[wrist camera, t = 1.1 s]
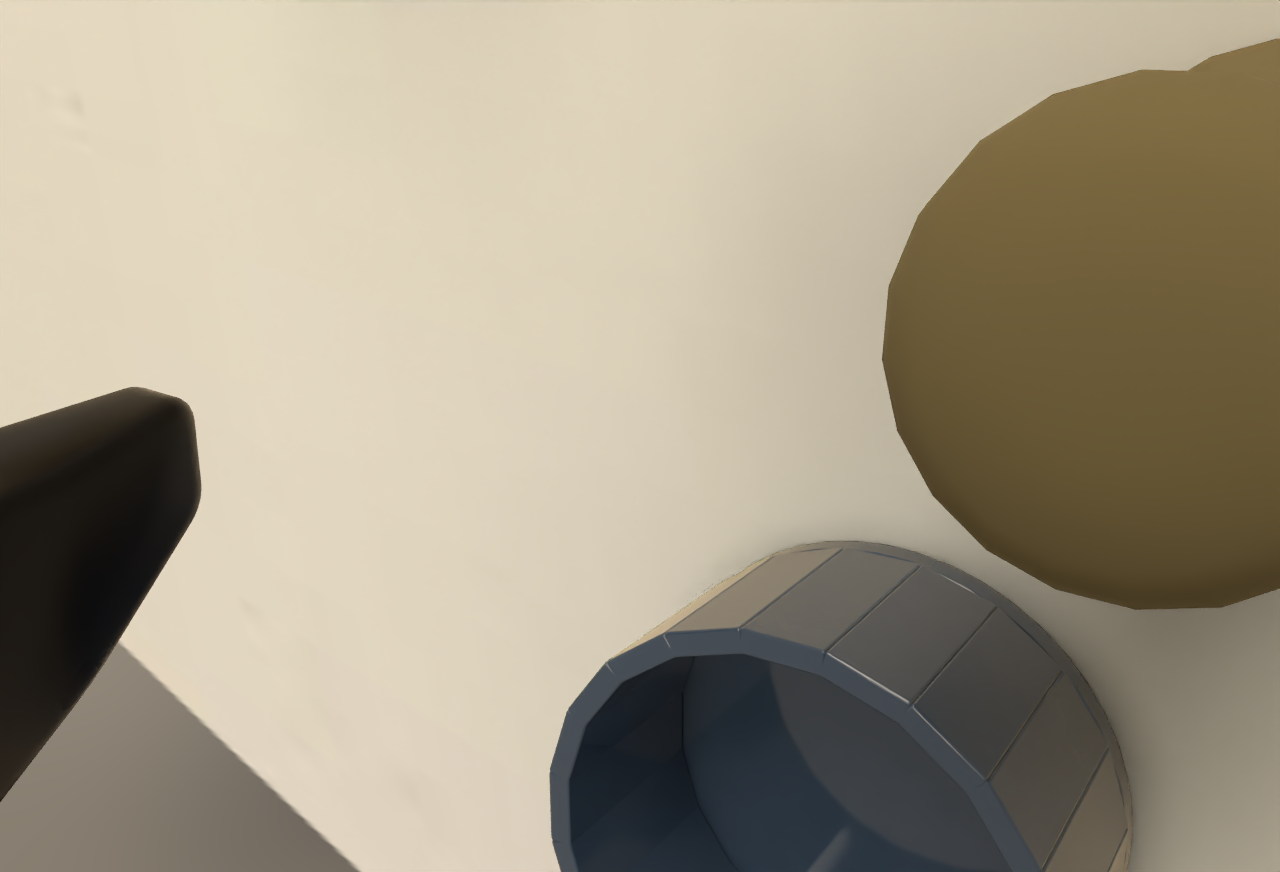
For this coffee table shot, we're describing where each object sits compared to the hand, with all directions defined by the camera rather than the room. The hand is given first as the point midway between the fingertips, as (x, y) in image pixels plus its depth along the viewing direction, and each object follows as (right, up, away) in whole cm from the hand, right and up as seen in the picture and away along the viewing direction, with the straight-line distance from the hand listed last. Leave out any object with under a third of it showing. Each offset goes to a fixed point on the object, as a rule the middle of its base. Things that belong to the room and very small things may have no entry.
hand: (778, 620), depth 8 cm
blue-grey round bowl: (+4, -6, +18) cm, 19 cm away
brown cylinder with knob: (+9, +5, +11) cm, 15 cm away
